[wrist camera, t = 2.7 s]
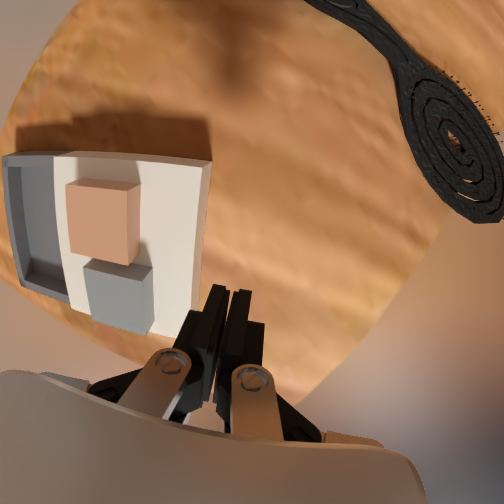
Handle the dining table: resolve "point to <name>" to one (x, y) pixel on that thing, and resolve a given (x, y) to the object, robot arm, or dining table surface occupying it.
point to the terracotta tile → (104, 219)
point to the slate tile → (120, 295)
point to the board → (146, 226)
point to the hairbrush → (435, 120)
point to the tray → (34, 221)
